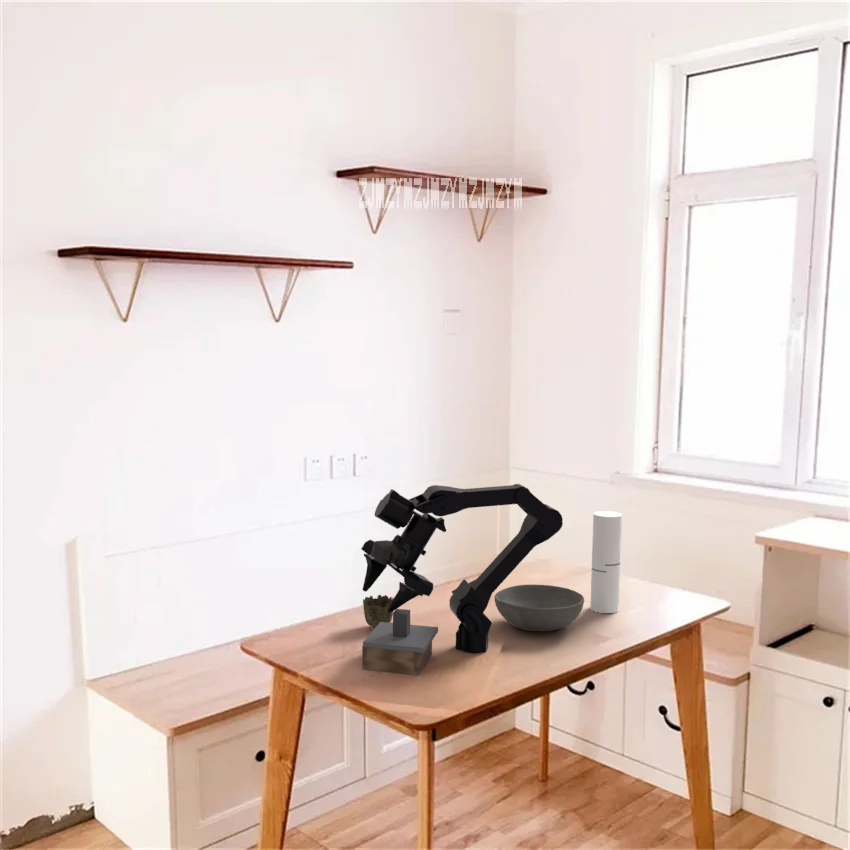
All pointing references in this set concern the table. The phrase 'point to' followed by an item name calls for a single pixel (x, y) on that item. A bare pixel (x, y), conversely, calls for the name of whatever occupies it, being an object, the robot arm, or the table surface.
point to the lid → (401, 634)
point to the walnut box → (395, 660)
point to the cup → (377, 610)
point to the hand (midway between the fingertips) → (376, 601)
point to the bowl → (539, 606)
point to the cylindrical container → (606, 561)
